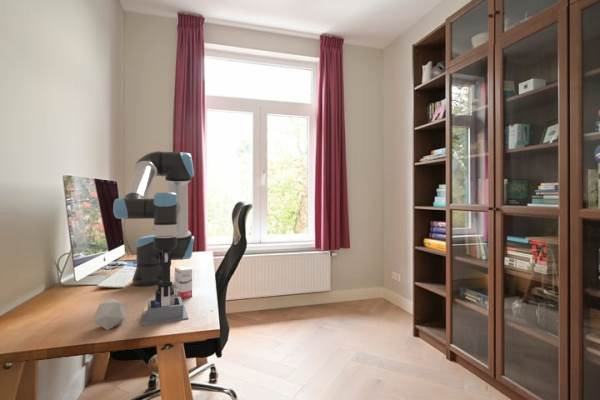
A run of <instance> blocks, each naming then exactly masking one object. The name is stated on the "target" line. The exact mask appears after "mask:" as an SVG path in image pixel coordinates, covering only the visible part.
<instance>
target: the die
mask: <svg viewBox="0 0 600 400" xmlns="http://www.w3.org/2000/svg"><path fill="white" fill-rule="evenodd" d="M127 309H128V307H127V306H126V305H124V304H122V303H121V302H119V301H118V300H116V299H115V298H111V299H108V300H106V301H103V302H101V303H99V305H98V307H97V309H96V312H95V314H94V316H93V319H92V322H93V323H95V324H97V325H99V326H100V327H102V328H103V329H105V330H106V331H109V330H111V329H113V328H116V327H117V326H120V325H121V324H122V322H123V321H124V318H125V315H126V313H127Z"/></svg>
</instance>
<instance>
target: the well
mask: <svg viewBox="0 0 600 400" xmlns="http://www.w3.org/2000/svg"><path fill="white" fill-rule="evenodd" d="M182 299H183V298H182ZM182 299H181V297H178V296H174V305H173V306H165V307H157V308H155V299H148V300H147V310H142V320H141V323H142V324H141V326H149V325H156V324H157V325H158V324H163V323H164V324H165V323H170V322H176V321H177V322H178V321H185V320H189V316H188V312H187V309H186V306H185V305H184V303H183V300H182Z"/></svg>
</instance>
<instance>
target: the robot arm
mask: <svg viewBox="0 0 600 400" xmlns="http://www.w3.org/2000/svg"><path fill="white" fill-rule="evenodd" d="M192 158H193V157H192V155H191V153H188V152H182V151H159V150H158V151H152V152H148V153H146V154H144V155H143V156H141V158H139V159H138V160H137V162H136V163H135V165H134V167H133V172H134V173H133V175H132V179H131V181H130V183H129V185H128V188H127V191H126V193H125V195H124V197H119V198H116V199H114V201H113V204H112V205H113V206H112V208H113V209H112V212H113V215H114V218H115V219H118V220H119V219H123V220H124V219H125V220H133V219H134V220H135V219H136V220H138V219H141V220H142V219H144V220H145V219H152V220H153V226H152V228H151V230H152V231H153V234H151V235H146V236H145V235H144V236H141V237H139V238H138V239H137V240H136V247H135V248H136V264H135V265H136V267H135V270H134V274H133V277H132V279H131V280H132V282H131V283H132V285H133V286H137V287H138V286H139V287H148V286H156V285H158V283H159V282H162V285H160V286H159V287H161V306H169V305H170V285H171V283H170V281H171V266H172V261H183V260H184V261H185V260H189V259H191V258H192V256H193V250H194V243H195V236H194V235H192V232H191V231H190V230H189V185H188V184H189V183H190V182H191V181H192V178H194V177H195V172H194V171H195V170H194V163H193V159H192ZM156 177H165V181H166V182H167V183H168V192H155V193H154V196H153V197H154V198H148V195H149V192H150V190H151V186H152V182H153V179H155V178H156ZM164 282H165V283H164Z"/></svg>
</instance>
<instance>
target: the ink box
mask: <svg viewBox="0 0 600 400" xmlns="http://www.w3.org/2000/svg"><path fill="white" fill-rule="evenodd" d="M174 296H175V297H181V299H188V298H191V297H193V268H190V267H187V266H185V265H184V266H182V265H181V266H175V267H174Z"/></svg>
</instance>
